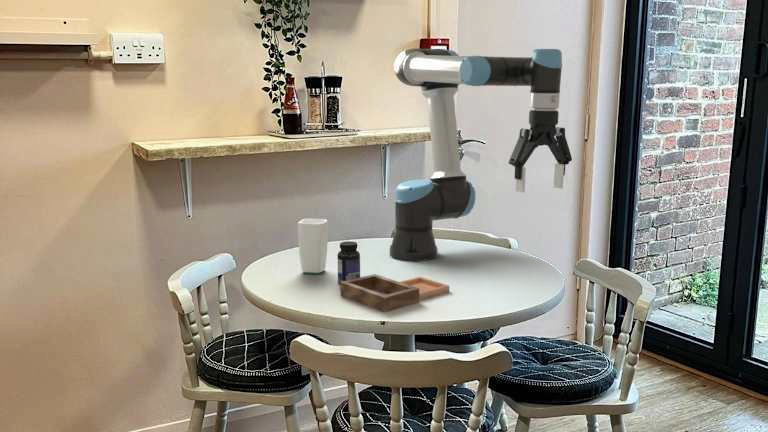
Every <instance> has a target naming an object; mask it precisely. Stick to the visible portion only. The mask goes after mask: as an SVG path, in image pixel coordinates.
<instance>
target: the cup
mask: <svg viewBox="0 0 768 432" xmlns="http://www.w3.org/2000/svg"><path fill="white" fill-rule="evenodd" d="M328 222H329V221H328V220H327V219H326V218H303V219H301V220H299V221H298V222H297V232H298V235H297V237H298V238H297V239H298V251H299V252H298V253H299V261H300V267H301V272H303V273H305V274H314V275H315V274H316V275H317V274H321V273H323V272H324V270H325V269H326V264H327V257H328V243H329V242H328V239H329V238H328V235H329V234H328V233H329V232H328V230H329V229H328V228H329V227H328Z"/></svg>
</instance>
